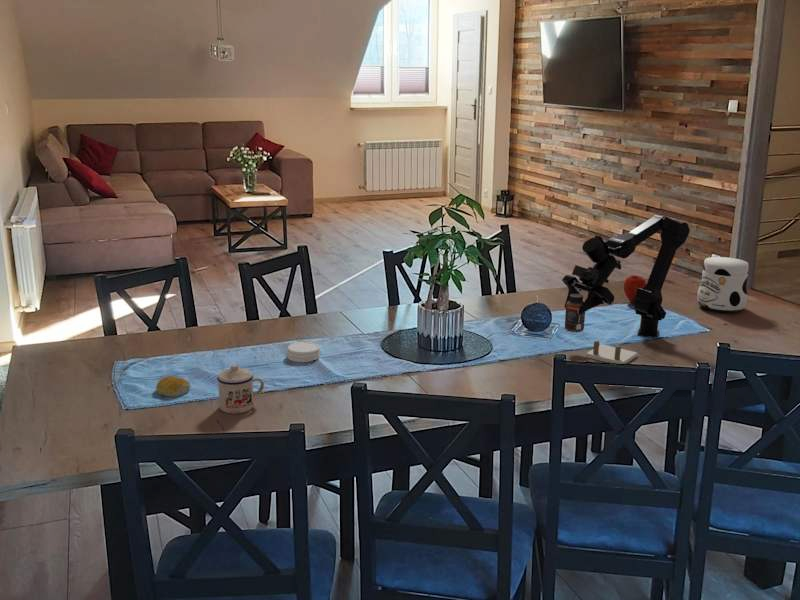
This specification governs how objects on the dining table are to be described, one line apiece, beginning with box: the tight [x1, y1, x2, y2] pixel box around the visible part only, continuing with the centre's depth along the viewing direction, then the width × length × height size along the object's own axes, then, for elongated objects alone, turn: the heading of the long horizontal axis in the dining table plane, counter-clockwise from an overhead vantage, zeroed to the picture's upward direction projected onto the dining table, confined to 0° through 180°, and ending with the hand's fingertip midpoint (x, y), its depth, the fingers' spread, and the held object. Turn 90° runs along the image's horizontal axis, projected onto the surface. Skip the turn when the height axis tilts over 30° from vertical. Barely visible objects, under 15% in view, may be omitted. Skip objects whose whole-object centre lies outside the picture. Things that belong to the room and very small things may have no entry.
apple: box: [623, 274, 647, 304], centre depth 304 cm, size 9×8×11 cm
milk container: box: [696, 256, 750, 313], centre depth 297 cm, size 17×17×18 cm
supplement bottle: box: [564, 293, 586, 333], centre depth 251 cm, size 6×6×11 cm
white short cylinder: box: [286, 341, 321, 363], centre depth 246 cm, size 10×10×4 cm
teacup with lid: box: [216, 364, 265, 415], centre depth 209 cm, size 12×9×12 cm
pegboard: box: [585, 340, 638, 364], centre depth 249 cm, size 11×12×5 cm
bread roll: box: [155, 375, 191, 398], centre depth 220 cm, size 8×9×4 cm
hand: (572, 310), depth 250 cm, fingers closed on supplement bottle, 6 cm apart
